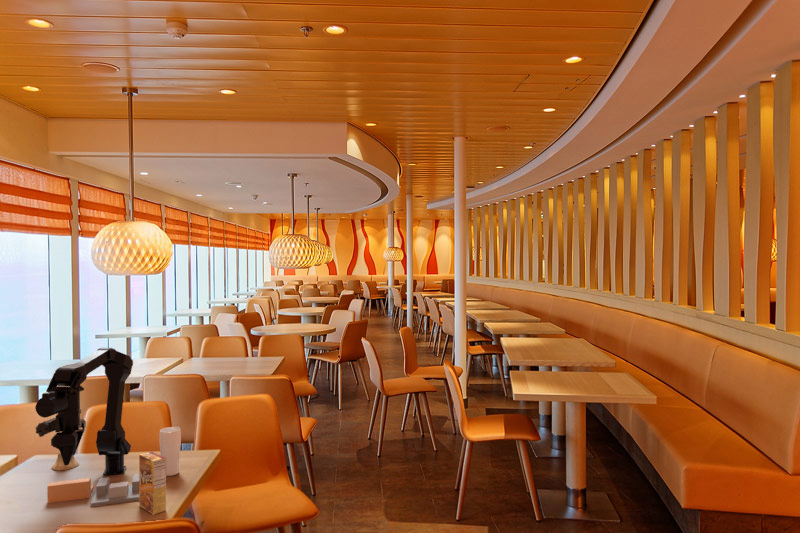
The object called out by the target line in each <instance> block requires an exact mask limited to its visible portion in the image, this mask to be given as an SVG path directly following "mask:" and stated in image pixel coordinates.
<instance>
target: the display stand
mask: <svg viewBox="0 0 800 533" xmlns="http://www.w3.org/2000/svg"><path fill="white" fill-rule="evenodd" d="M95 487H96V488H95V492H94V495H93V496H92V499H91V502H90V507H91V508H92V507H98V506H104V505H106V506H107V505H113V504H120V503H121V504H123V503H127V502H128V503H129V502H136V501H139V473H135V474H133V478H132V481H131V484H130V485H129V481H121V482H115V483H110V477H109V476H106V477H100V478H99V479H98V482H97V484H96V486H95Z"/></svg>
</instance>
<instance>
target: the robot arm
mask: <svg viewBox="0 0 800 533" xmlns="http://www.w3.org/2000/svg"><path fill="white" fill-rule="evenodd" d="M101 366H102V367H104V374H105V376H106V378H107V380H108V389H107V390H108V391H107V398H106V399H107V400H106V407H105V418H104V425H103V427H102V428H101V429H98V430H97V432H96V439H95V440H96V441H95V444H96V449H97V452H98V456H105V457H104V460H105V463H104V466H105V467H104V468H105V469H104V471H103V473H102V476H110V475H111V476H112V475H119V474H124V473H125V472H126V469H127V465H125V455H128V454H129V453H131V447H132V445H131V443H129V442H128V440H127V439H126V431H125V429H124V427H123V426H122V417H123V416H122V415H123V406H124V405H123V404H124V396H125V395H124V394H125V383H126V381H127V379H129V376H130V375H131V374H132V371H133V370H132V369H133V366H134V360H133V358H131V356H130V355H127V354H125V353H123V352H120V351H118V350H116V349H115V348H113V347H100V348H97V350H96V351H94V352H92V353H91V354H89V355H88V356H86V357H84V358H82V359H80V361H77V362H75V363H70V364H66V365H62V366H59V367H58V368H56V370H55V371H54V373H53V376H52V378H51V379H50V382H49V384H48V387H47V389H46V392H44V393H42V394H41V398H39V399H38V400H37V402H36V405H35V408H34V409H35V412H36V413H37V415H38V417H40V418H49V417H51V416H55V417H53V418H50V419H48V420H43V422H39V423H38V424H37V425H36V426H35V433H36V434H38V436H39V437H38V438H42V437H44V436H45V435H47V434H50V433H53V432H55V434H54V435H53V436H52V438H50V446H51V447H53V448H55V449H57V450H59V451H60V453H61V456H62V459H63V462H64V465H69V463H70V460H71V457H72V455H74V456H75V455H76V452H77V450H78V447H79V445H80V443H81V440H82V437H83V436H84V433H85V430H86V428H87V421H86V420H85V419H84V418H81V413H82V408H81V392H82V391H85V387H83V386H82V384H83V383H84V382H85V381H86V380H87V377H88V375H89V374H91V372H94V371H95V370H97V369H98V368H99V367H101ZM59 451H58V452H59Z"/></svg>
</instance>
